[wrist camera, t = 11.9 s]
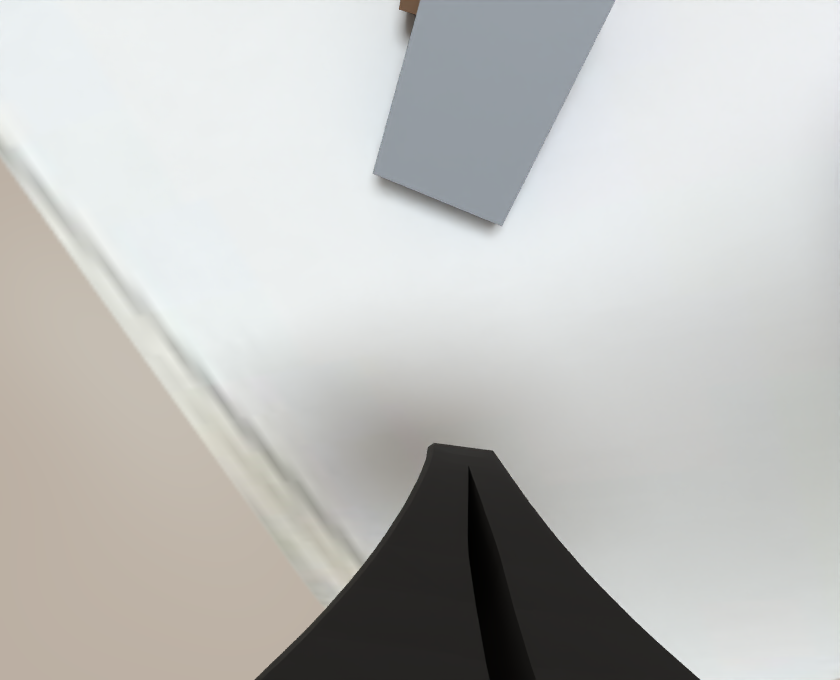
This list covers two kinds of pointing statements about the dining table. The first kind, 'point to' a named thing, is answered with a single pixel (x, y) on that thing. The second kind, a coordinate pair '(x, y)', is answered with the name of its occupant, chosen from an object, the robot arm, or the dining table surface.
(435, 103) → the domino
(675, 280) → the dining table surface
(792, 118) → the dining table surface
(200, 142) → the dining table surface
